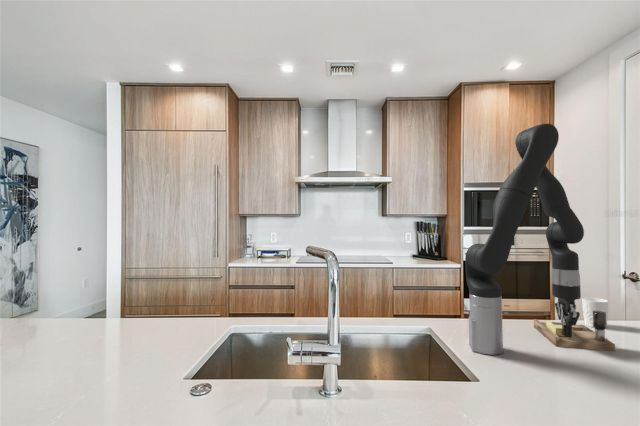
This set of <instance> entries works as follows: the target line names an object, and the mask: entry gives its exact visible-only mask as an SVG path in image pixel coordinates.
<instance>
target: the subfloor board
mask: <svg viewBox="0 0 640 426" xmlns="http://www.w3.org/2000/svg"><path fill="white" fill-rule="evenodd" d="M533 328H534V329H535V330H536V331H538V332H539V333H540V334H541V336H543V337H545V338H546V339H547V341H549V342H551V344H552V345H553V346H555V347H558V348H559V347H560V348H572V349H573V348H574V349H585V350H586V349H587V350H599V351H610V352H611V351H612V352H613V351H614V352H616V343H613V342H612V341H611V340H609V339H607V338H605V341H604V342H601V341H597V340H595V330H592V329H591V328H589V327H588V326H586V325H585V324H578V323H576V325H573V326H572V329H573V337H565V336H557V335H556V334H554V333H553V332H552V331H551V330H549V329H548V328H547V327H546V322H543V321H542V322H541V321H540V320H538V318H537V319H536V318H534V319H533Z"/></svg>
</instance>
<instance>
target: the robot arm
mask: <svg viewBox="0 0 640 426" xmlns="http://www.w3.org/2000/svg"><path fill="white" fill-rule="evenodd" d="M559 135H560V134H559V130H558V128H557V127H556V126H555V125H553V124H551V123H541V124H537V125H534V126H532V127H530V128H527V129H524V130H522V131H520V132H519V133H518V134H517V136H516V138H515V140H514V141H515V142H514V143H515V148H516V151H517V153H518V154H519V157H520V159H521V161H520V162H519V164H518V165H517V166H516V167H515V169H513V171H512V172H511V173H510V174H508V176H507V178H506V179H504V180H503V183H502V184H501V185H500V187H499V189H498V192H497V193H496V196H495V198H494V202H493V206H492V217H493V219H492V220H493V221H492V222H493V223H492V229H491V231H490V234H489V236H488V238H487V240H486V242H485V243H475V244H472V245H470V247H469V248H468V249H467V250H466V253H465V261H464V265H465V266H464V267H465V277H466V278H465V280H466V284H467V286H468V291H469V293H468V294H469V295H468V296H469V315H468V345H469V347H470V349H471V351H472V352H474V353H475V352H476V353H479V354H484V355H491V356H493V355H494V356H495V355H501V354H503V353H504V341H503V339H504V338H503V337H504V335H503V333H504V332H503V300H502V299H503V297H502V296H503V293H502V287H501V286H500V284H498V282H497V281H496V279H495V277H494V276H496V275H498V274H499V273H501V272H502V271H503V270H504V269H505V267H506V265H507V262H508V259H509V257H510V252H511V249H512V246H513V242H514V240H515V237H516V236H515V235H516V234H517V232H518V228H519V227H520V224H521V222H522V219H523V217H524V214H525V212H526V210H527V208H528V206H529V203H530V201H531V199H532V196H533V193H534V190H535V189H536V191H537V192H538V195H539V199H540V203H541V205H542V209H543V211H544V214H545V215H546V216H547V217H550V218H552V219H554V220H555V221H554V222H553V221H552V222H551V223H550V224H548V226H547V228H546V229H545V237H546V242H547V244H548V248H549V251H550V253H551V256H552V257H551V260H552V261H551V265H552V266H551V267H552V269H551V292H552V293H551V294H552V295H551V296H553V297H554V298H557V302H555V303H554V307H555V312H556V314H557V318H558V320H559V321H560V322H561V323H562V334H563V335H564V336H565V337H572V326H573V325H576V324H578V321H579V317H580V312H579V311H577V305H576V302H575V301H576V300H580V299H582V297H581V294H582V293H581V290H582V289H581V276H580V267H579V265H580V264H579V261H580V260H579V258H580V257H579V255H578V252H576V251H573V250H572V249H570V247H569V245H570V244H571V245H572V244H575V245H576V244H578V243H580V242H581V241H582V240H583V239H584V236H585V229H584V226H583V225H582V222H581V221H580V219H579V218H578V216H577V215H576V213H575V211H574V210H573V209H572V208H571V206H570V202H569V200H568V197H567V192H566V191H565V188H564V186H563V185H562V183H561V182H560V180H558V178H557V177H556V176H555V175H554V174H553V173H552V172H551V171H550V170H549V168H548V167H547V164H548V162H549V160H550V159H551V157H552V156H553V154H554V152H555V150H556V148H557V146H558V144H559V139H560V138H559ZM568 244H569V245H568Z"/></svg>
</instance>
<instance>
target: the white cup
mask: <svg viewBox="0 0 640 426" xmlns="http://www.w3.org/2000/svg"><path fill="white" fill-rule="evenodd" d="M581 306H582V314H583V315H582V316H583V320H584V321H583V322H584V324H583V325H584V326H586V327H588V328H589V327H590V328H594V327H593V311H603V312H606V329H607V328H608V318H609V300H607V299H605V298H601V297H600V298H599V297H589V296H586V297H585V296H584V297H581ZM594 329H595V328H594Z"/></svg>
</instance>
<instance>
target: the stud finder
mask: <svg viewBox="0 0 640 426" xmlns="http://www.w3.org/2000/svg"><path fill="white" fill-rule="evenodd" d="M545 323H546V327H547V328H548V329H549V330H551V331H552V332H553V333H554V334H556V335H557V336H564V335H563V334H562V323H561V321H552V320H550V321H549V320H546V322H545ZM572 337H573V329H572Z"/></svg>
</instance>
